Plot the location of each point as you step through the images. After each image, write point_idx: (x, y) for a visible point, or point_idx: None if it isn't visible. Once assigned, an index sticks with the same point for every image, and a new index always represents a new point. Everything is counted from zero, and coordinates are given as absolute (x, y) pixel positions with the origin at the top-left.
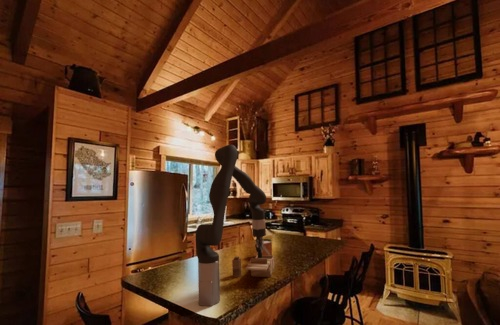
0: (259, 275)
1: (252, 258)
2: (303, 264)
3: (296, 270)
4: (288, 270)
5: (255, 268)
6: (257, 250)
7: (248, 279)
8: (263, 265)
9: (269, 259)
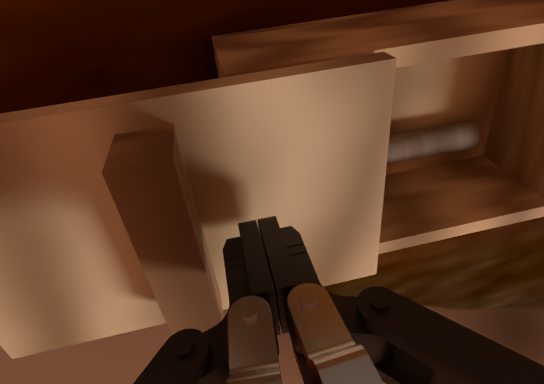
0: None
1: (132, 198)
2: (510, 288)
3: (400, 292)
4: (400, 257)
5: None
6: (175, 376)
7: (109, 44)
8: (101, 303)
9: (351, 267)
